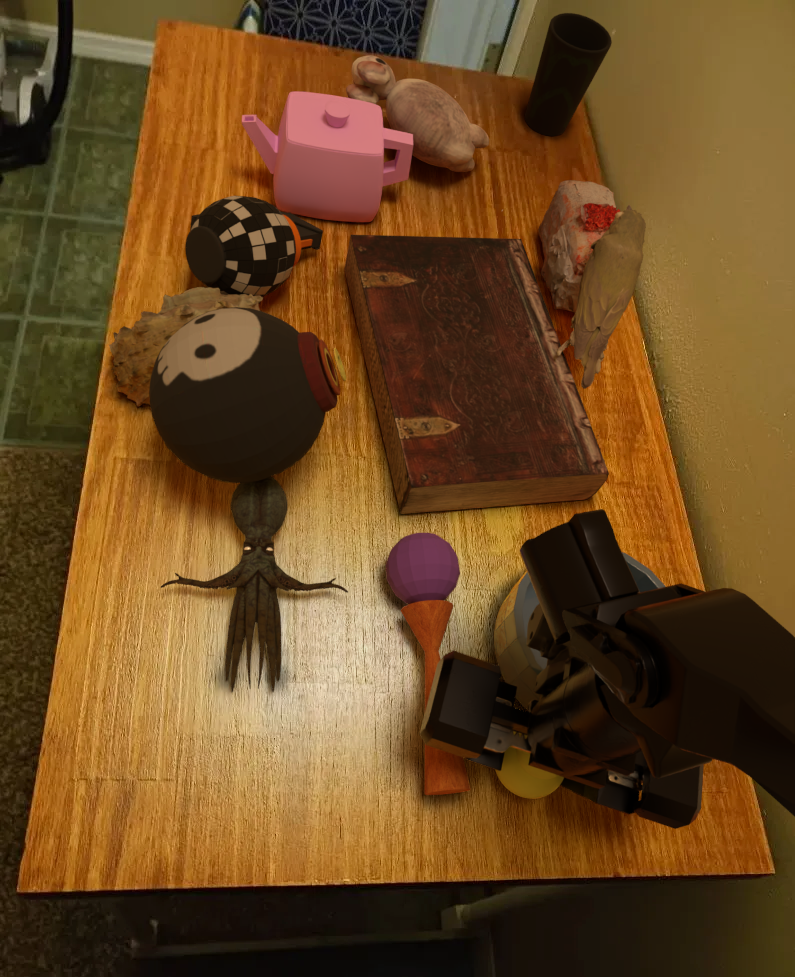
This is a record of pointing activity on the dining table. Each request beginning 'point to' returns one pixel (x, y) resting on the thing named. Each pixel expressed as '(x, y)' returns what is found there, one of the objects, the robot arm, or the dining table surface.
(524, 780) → the pear toy
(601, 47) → the cup
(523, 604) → the bowl
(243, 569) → the figurine
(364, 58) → the toy
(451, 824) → the dining table surface
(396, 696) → the dining table surface
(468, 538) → the dining table surface
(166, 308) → the seashell
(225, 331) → the toy
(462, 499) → the antique book
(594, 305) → the decorative bird model
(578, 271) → the food item
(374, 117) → the teapot
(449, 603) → the kendama
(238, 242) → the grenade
